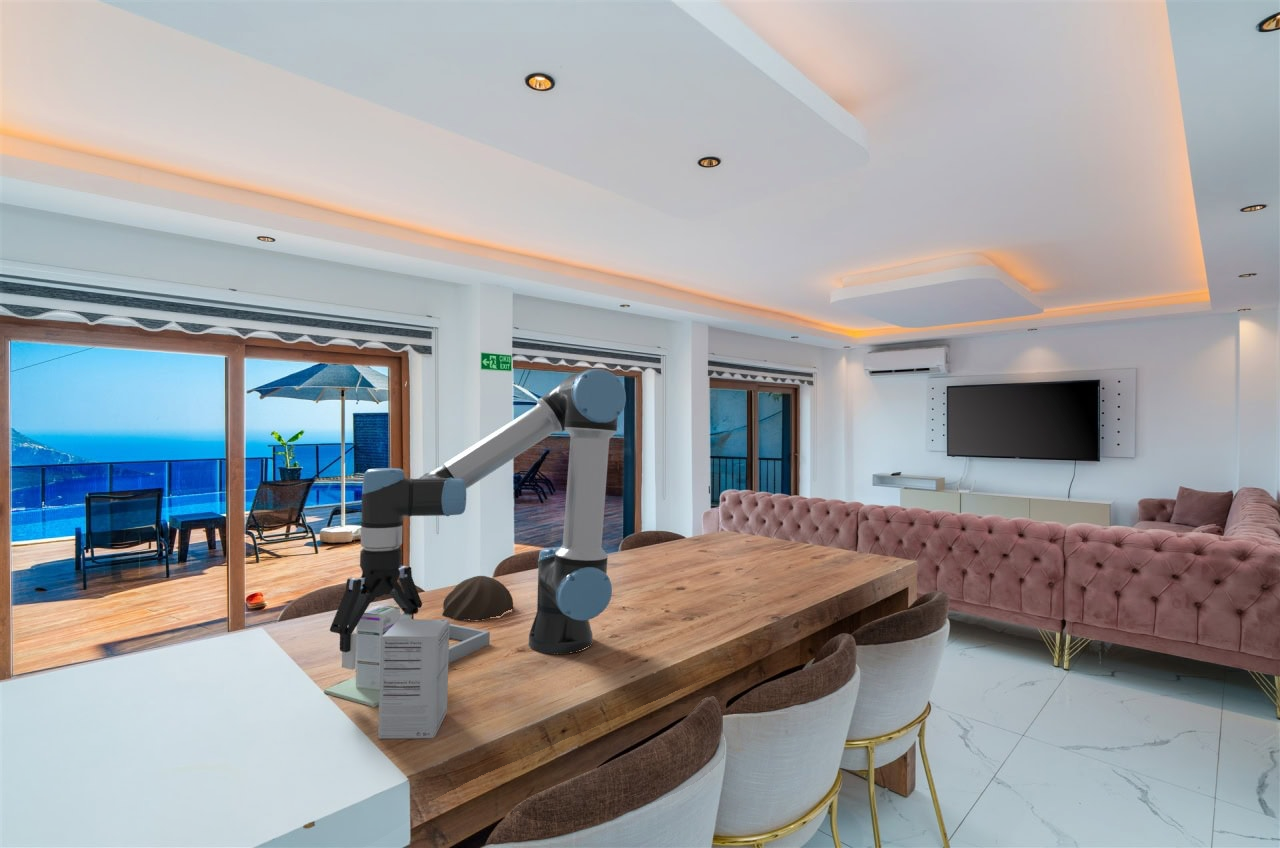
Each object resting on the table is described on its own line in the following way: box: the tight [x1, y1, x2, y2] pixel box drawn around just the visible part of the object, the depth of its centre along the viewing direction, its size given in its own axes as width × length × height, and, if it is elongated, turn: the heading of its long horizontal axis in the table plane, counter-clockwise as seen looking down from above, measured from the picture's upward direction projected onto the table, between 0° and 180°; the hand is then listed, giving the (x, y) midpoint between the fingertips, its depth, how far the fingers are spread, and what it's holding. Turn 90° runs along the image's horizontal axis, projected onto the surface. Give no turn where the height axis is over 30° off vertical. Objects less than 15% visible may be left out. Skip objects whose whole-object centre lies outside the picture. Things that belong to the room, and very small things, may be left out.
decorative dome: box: [442, 575, 514, 621], centre depth 173 cm, size 19×20×10 cm
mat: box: [323, 676, 380, 708], centre depth 120 cm, size 13×13×1 cm
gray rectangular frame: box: [448, 623, 491, 664], centre depth 139 cm, size 15×23×3 cm, turn 155°
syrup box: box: [355, 605, 401, 691], centre depth 120 cm, size 6×6×14 cm
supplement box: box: [377, 619, 451, 740], centre depth 105 cm, size 10×9×17 cm
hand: (378, 656), depth 120 cm, fingers open, 13 cm apart
